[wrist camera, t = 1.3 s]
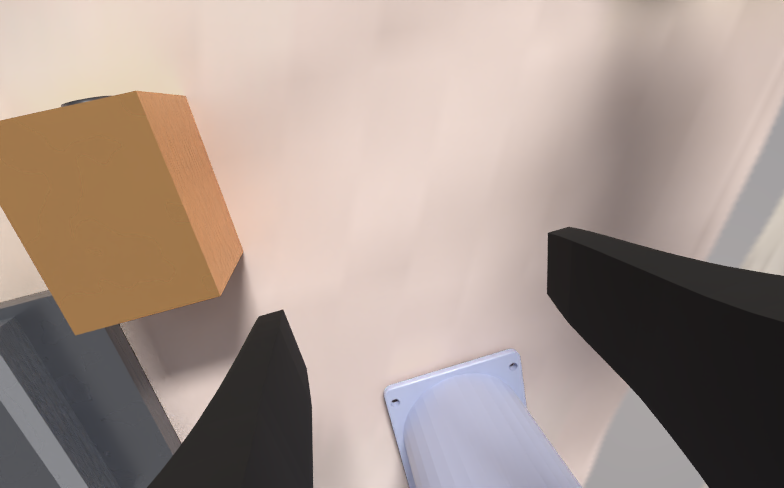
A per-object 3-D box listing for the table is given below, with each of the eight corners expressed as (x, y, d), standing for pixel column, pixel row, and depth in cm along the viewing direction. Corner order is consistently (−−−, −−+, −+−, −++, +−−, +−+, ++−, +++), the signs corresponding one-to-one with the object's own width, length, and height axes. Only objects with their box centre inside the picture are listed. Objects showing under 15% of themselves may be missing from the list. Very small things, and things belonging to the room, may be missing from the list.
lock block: (243, 250, 19) (220, 296, 14) (135, 279, 19) (75, 335, 14) (183, 88, 17) (131, 80, 12) (56, 116, 16) (-50, 119, 11)
